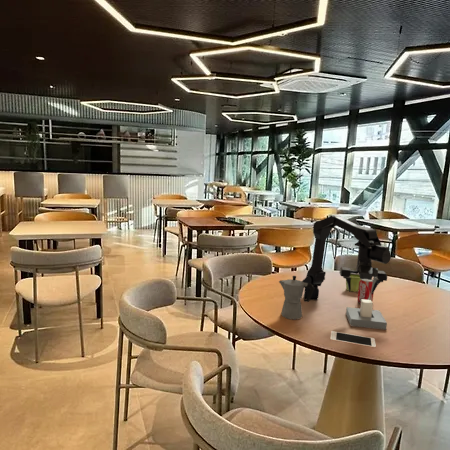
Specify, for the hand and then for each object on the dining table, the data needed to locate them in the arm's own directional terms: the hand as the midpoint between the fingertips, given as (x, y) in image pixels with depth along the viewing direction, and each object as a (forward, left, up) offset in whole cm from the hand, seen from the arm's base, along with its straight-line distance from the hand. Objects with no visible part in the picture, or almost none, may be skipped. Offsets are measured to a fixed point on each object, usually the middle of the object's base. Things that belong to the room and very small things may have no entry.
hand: (360, 292), depth 161 cm
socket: (+2, -3, -12) cm, 12 cm away
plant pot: (+3, +41, -12) cm, 43 cm away
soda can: (+6, +21, -12) cm, 25 cm away
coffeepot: (-28, -6, -12) cm, 31 cm away
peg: (+2, -3, -12) cm, 12 cm away
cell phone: (-6, -23, -12) cm, 26 cm away
